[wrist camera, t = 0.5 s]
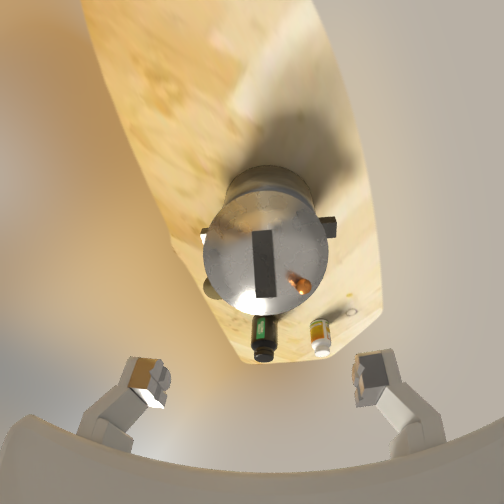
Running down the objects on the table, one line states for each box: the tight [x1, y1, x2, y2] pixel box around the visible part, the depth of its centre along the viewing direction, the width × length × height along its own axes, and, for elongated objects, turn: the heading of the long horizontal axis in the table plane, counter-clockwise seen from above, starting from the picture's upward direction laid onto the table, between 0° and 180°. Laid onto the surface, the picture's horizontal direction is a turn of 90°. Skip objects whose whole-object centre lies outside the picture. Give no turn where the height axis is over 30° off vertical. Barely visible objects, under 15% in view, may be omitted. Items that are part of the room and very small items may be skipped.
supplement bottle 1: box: [251, 315, 278, 363], centre depth 70 cm, size 7×7×12 cm
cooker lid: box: [203, 191, 328, 315], centre depth 35 cm, size 16×16×4 cm
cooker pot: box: [200, 165, 337, 244], centre depth 47 cm, size 16×22×10 cm
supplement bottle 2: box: [310, 319, 331, 357], centre depth 72 cm, size 5×5×10 cm
